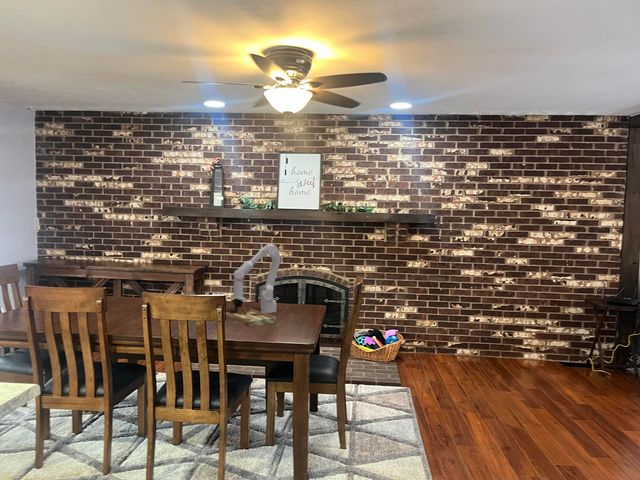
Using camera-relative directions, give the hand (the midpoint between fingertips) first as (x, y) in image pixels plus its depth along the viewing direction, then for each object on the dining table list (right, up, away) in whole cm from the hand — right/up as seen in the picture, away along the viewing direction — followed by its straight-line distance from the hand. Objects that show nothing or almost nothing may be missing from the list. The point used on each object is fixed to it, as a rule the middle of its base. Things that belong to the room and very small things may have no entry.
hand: (237, 311), depth 272 cm
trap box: (+10, -3, -10) cm, 15 cm away
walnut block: (+3, -1, -4) cm, 5 cm away
